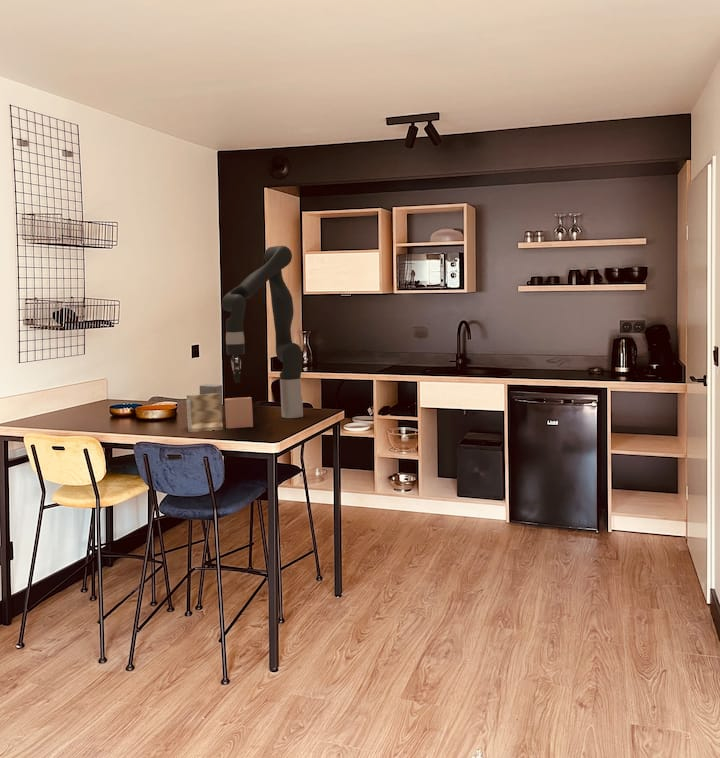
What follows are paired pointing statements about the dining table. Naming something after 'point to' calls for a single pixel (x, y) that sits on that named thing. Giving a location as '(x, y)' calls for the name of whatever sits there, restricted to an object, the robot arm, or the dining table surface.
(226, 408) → the terracotta book
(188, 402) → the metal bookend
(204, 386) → the skincare box
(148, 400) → the dining table surface
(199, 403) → the plywood shelf
